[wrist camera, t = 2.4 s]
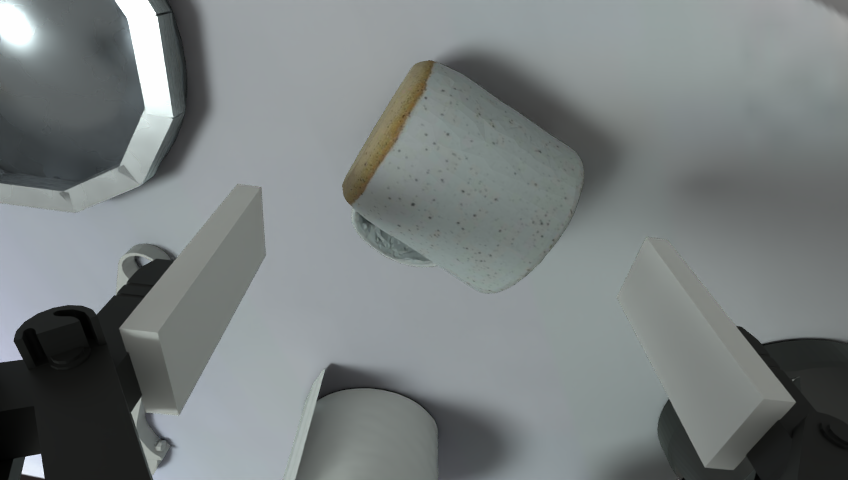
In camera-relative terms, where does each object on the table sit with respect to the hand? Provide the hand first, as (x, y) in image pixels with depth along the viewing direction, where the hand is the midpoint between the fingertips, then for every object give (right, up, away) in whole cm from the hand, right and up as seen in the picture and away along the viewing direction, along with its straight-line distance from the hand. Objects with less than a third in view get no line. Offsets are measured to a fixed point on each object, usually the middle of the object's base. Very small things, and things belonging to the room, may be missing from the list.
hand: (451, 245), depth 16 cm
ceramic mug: (0, +4, +8) cm, 9 cm away
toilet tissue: (-6, -14, +20) cm, 25 cm away
